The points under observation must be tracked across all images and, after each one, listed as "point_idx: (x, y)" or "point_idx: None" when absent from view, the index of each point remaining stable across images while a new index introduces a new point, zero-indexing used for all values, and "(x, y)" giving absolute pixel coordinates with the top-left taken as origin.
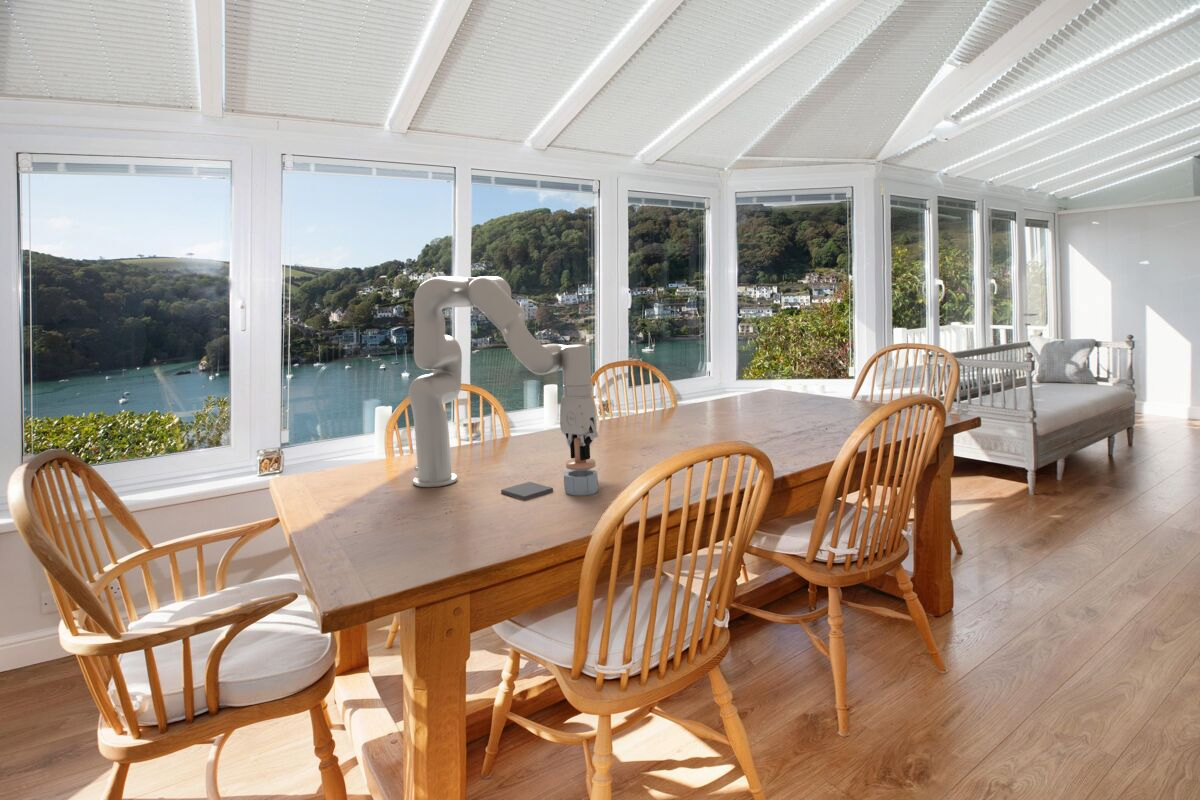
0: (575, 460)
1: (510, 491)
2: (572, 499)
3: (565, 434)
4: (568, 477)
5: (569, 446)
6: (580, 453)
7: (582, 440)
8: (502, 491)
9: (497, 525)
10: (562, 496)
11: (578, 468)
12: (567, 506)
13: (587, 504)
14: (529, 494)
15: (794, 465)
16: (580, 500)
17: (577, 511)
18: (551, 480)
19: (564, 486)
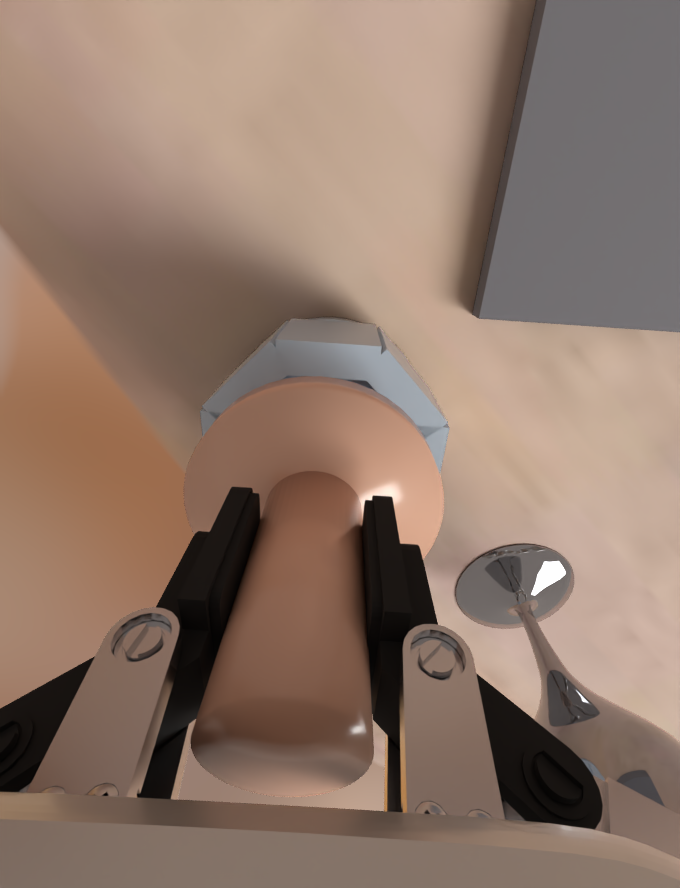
0: (330, 485)
1: None
2: (252, 257)
3: (613, 796)
4: (330, 341)
5: (646, 722)
6: (227, 528)
7: (113, 693)
8: None
9: None
10: (349, 268)
11: (236, 403)
12: (154, 102)
13: (101, 232)
14: (540, 59)
15: None
16: (199, 272)
17: (7, 49)
18: (611, 469)
19: (379, 330)
